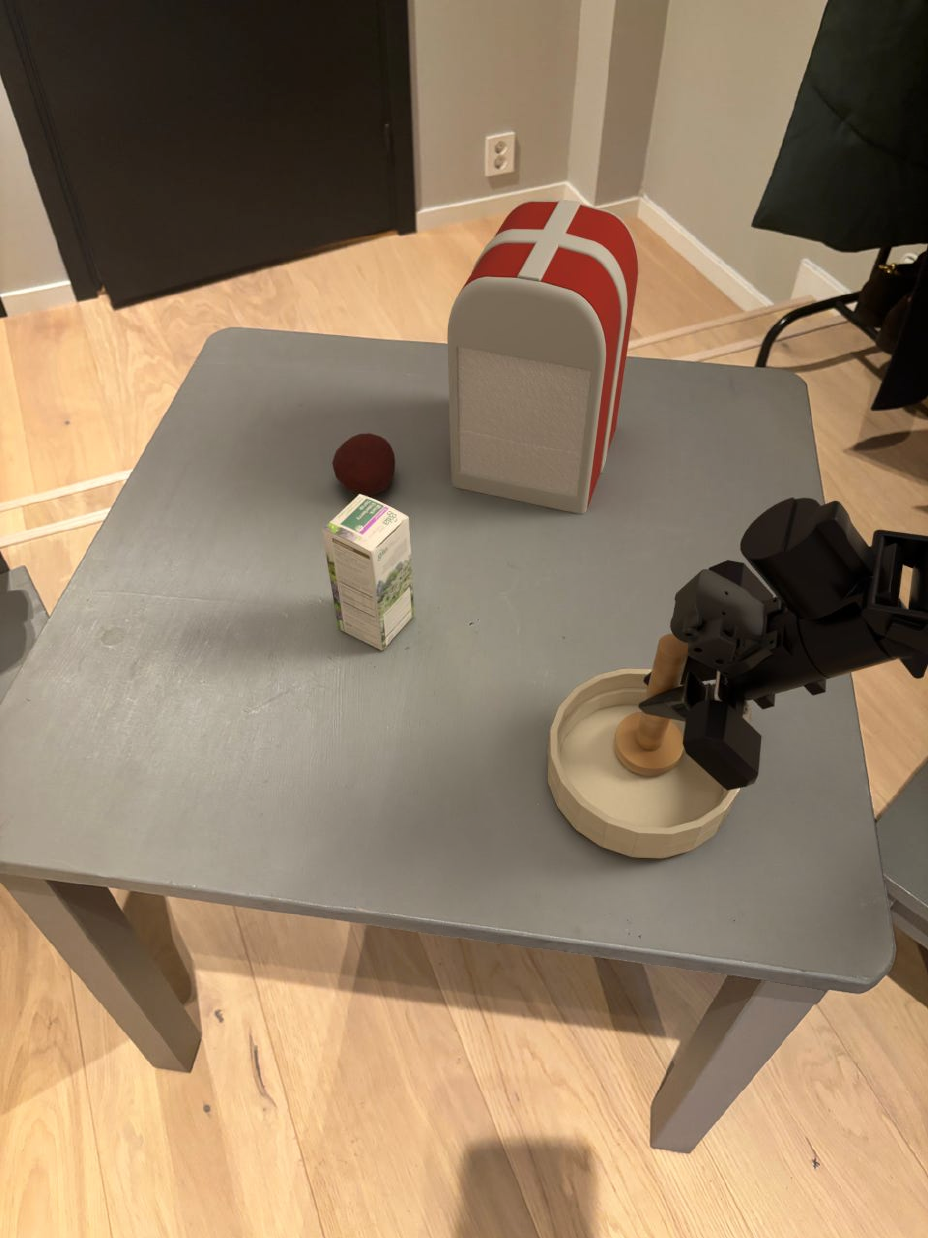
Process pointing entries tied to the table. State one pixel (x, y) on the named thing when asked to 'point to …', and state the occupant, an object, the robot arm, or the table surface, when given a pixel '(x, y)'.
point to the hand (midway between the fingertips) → (643, 695)
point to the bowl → (627, 777)
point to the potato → (364, 464)
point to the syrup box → (370, 570)
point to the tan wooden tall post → (654, 717)
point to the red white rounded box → (541, 354)
